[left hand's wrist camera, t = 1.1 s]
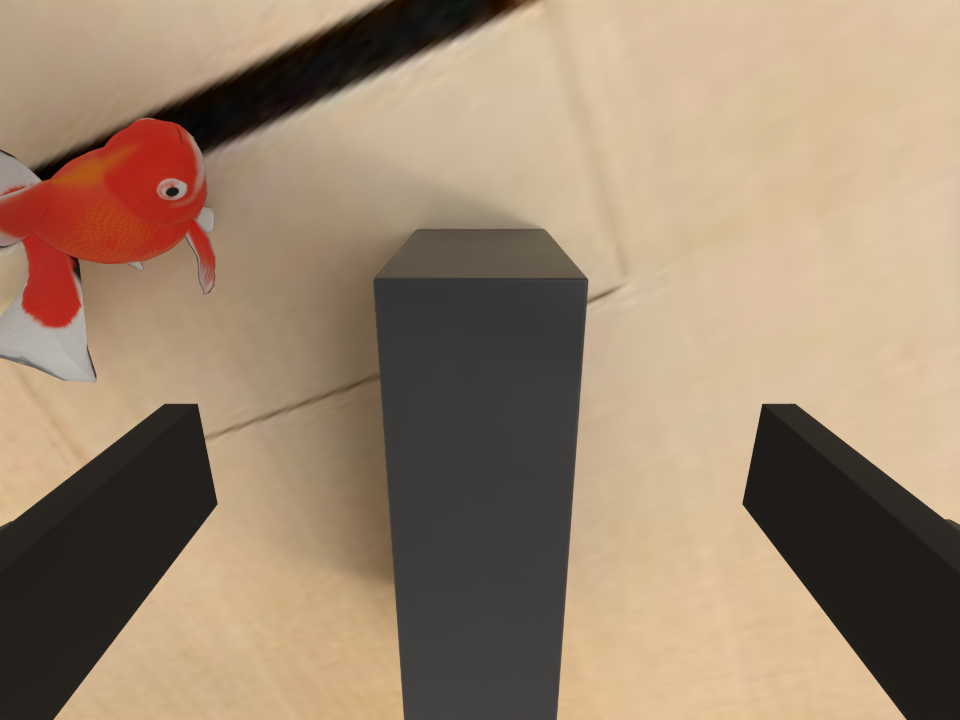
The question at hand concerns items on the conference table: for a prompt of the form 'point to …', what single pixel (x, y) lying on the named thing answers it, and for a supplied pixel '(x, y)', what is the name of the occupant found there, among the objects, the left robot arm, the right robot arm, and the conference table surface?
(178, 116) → the conference table surface
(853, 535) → the left robot arm
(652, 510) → the conference table surface
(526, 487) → the box
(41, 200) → the fish
